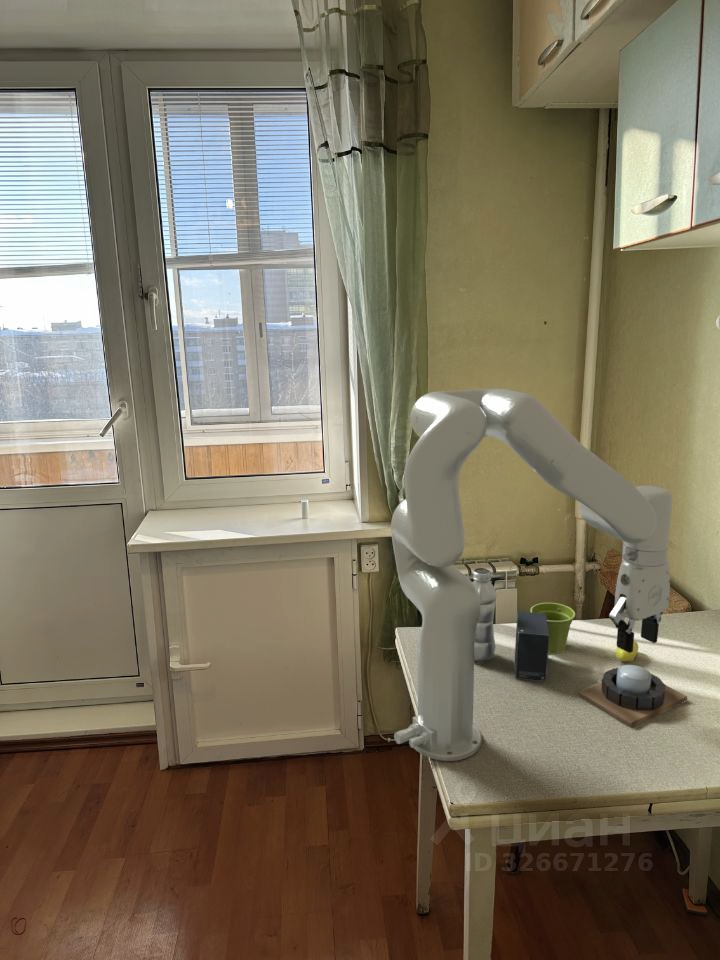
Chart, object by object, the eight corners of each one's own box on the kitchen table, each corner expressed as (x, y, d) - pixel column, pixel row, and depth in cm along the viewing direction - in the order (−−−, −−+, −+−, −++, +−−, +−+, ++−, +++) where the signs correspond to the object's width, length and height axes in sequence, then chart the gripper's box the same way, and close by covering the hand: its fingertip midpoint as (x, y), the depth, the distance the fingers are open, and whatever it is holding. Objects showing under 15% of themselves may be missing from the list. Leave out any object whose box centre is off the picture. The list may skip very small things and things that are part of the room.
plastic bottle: (462, 663, 146) (463, 575, 141) (467, 648, 152) (469, 563, 147) (492, 667, 144) (495, 578, 139) (497, 652, 150) (499, 566, 145)
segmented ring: (637, 717, 124) (639, 704, 123) (589, 689, 133) (590, 677, 132) (676, 698, 129) (677, 687, 128) (627, 673, 138) (628, 662, 138)
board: (630, 727, 122) (631, 722, 122) (578, 696, 132) (578, 691, 132) (686, 700, 130) (687, 696, 130) (633, 673, 140) (633, 669, 140)
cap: (635, 706, 127) (637, 683, 126) (608, 691, 132) (610, 669, 131) (656, 696, 130) (658, 674, 129) (629, 682, 135) (631, 661, 134)
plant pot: (572, 660, 146) (574, 623, 144) (527, 654, 148) (528, 618, 146) (573, 640, 154) (575, 605, 152) (530, 635, 157) (532, 600, 155)
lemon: (642, 654, 148) (644, 637, 147) (629, 669, 142) (631, 652, 141) (623, 648, 150) (624, 632, 150) (609, 663, 145) (610, 646, 144)
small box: (548, 682, 137) (550, 635, 135) (514, 679, 139) (516, 632, 136) (544, 656, 148) (547, 612, 145) (514, 654, 149) (515, 610, 146)
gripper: (630, 570, 117) (622, 665, 121) (693, 551, 125) (683, 640, 129) (595, 557, 123) (588, 648, 127) (657, 540, 131) (649, 625, 136)
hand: (636, 643), depth 128 cm, fingers open, 6 cm apart
